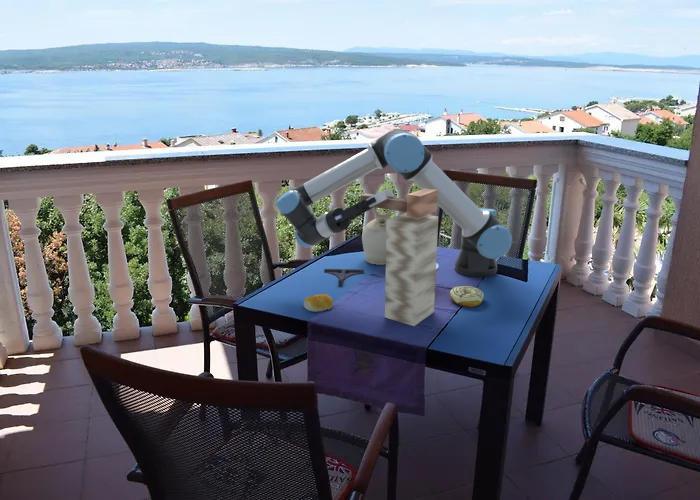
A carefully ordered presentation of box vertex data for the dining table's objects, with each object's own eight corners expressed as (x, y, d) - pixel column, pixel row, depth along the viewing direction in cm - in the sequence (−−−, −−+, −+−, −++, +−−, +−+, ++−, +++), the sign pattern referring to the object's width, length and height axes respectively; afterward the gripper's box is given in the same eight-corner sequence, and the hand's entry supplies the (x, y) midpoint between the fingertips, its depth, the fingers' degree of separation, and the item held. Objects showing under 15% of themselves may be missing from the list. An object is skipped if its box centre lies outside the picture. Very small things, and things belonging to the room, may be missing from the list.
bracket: (319, 287, 189) (319, 279, 188) (324, 272, 203) (324, 265, 202) (361, 288, 187) (361, 281, 187) (363, 273, 202) (363, 266, 201)
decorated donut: (454, 308, 170) (454, 297, 169) (446, 295, 180) (447, 284, 179) (487, 307, 171) (488, 296, 169) (478, 294, 181) (478, 283, 180)
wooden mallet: (353, 207, 161) (353, 187, 160) (372, 200, 169) (372, 181, 167) (419, 218, 149) (420, 196, 147) (436, 210, 157) (437, 189, 155)
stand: (384, 317, 164) (386, 220, 154) (405, 304, 173) (408, 211, 164) (414, 326, 158) (417, 225, 149) (433, 312, 167) (438, 216, 158)
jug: (393, 269, 204) (394, 203, 196) (355, 263, 210) (355, 199, 202) (407, 257, 217) (409, 195, 209) (371, 252, 223) (371, 191, 215)
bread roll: (337, 308, 171) (337, 296, 170) (312, 314, 166) (312, 302, 165) (324, 299, 178) (324, 287, 176) (299, 305, 173) (299, 293, 172)
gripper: (353, 227, 180) (407, 200, 165) (322, 239, 168) (378, 210, 153) (343, 206, 180) (397, 177, 165) (312, 216, 168) (367, 186, 153)
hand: (388, 193), depth 159 cm, fingers closed on wooden mallet, 3 cm apart
